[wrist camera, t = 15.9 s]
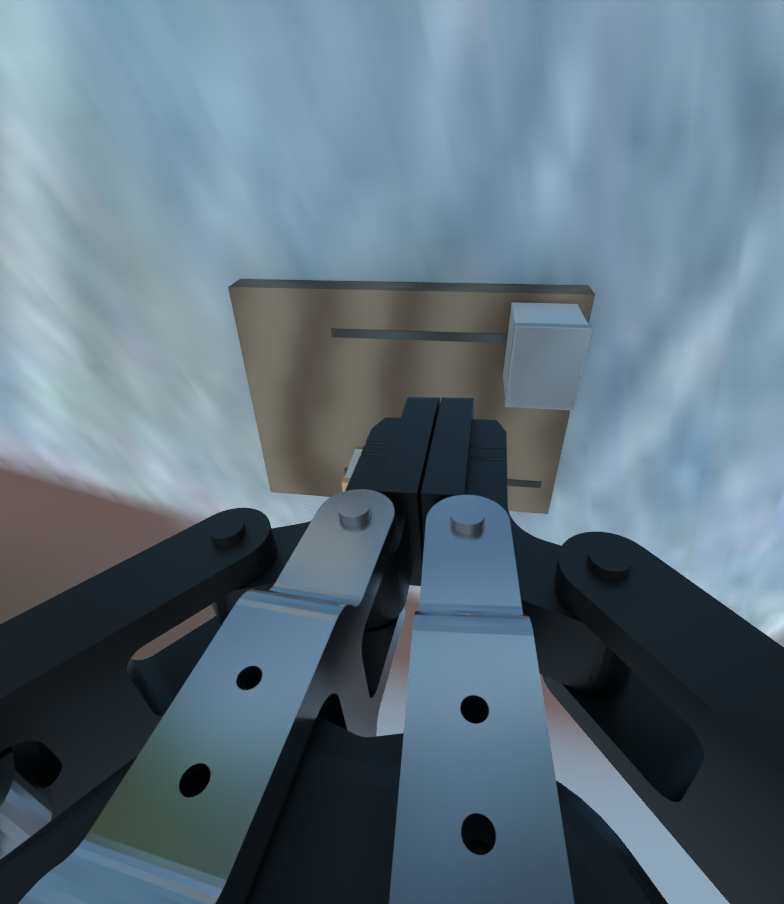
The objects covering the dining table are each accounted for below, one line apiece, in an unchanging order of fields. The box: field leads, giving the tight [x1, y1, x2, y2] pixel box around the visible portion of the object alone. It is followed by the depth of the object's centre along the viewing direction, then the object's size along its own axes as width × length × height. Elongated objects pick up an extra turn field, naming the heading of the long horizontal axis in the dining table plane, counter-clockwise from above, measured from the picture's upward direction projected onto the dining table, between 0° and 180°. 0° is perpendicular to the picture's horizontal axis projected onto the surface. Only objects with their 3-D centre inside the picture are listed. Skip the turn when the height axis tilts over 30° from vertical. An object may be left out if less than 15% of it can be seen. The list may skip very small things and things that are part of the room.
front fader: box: [503, 302, 592, 410], centre depth 30 cm, size 4×5×4 cm
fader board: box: [228, 279, 595, 514], centre depth 37 cm, size 24×18×2 cm
